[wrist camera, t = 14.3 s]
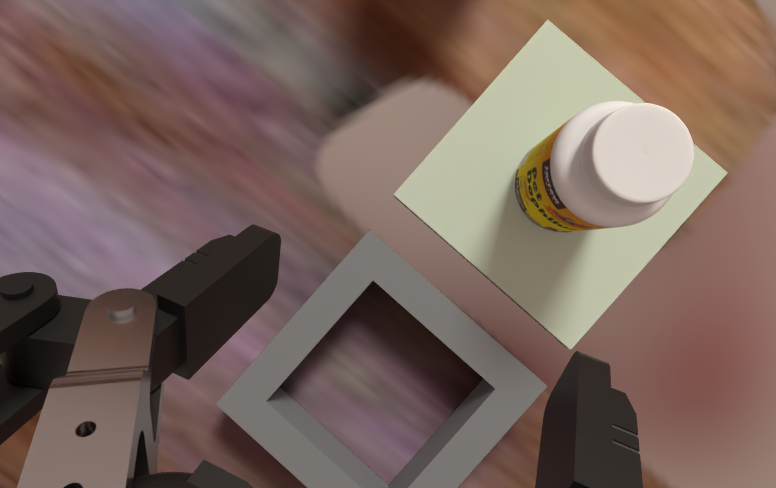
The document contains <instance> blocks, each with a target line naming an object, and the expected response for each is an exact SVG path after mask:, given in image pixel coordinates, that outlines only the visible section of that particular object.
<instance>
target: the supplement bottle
mask: <svg viewBox="0 0 776 488" xmlns="http://www.w3.org/2000/svg"><path fill="white" fill-rule="evenodd" d="M693 160H694V148H693V142H692V138H691V136H690V133H689V131H688V129H687V128H686V126H685V124H684V123H683V122H682V121H681V120H680V119H679V118H678V117H677V116H676V115H675V114H674V113H672V112H671V111H670V110H668V109H666V108H663V107H661V106H658V105H655V104H649V103H637V104H635V103H631V102H624V101H609V102H603V103H599V104H596V105H593V106H591V107H588V108H586V109H584V110H583V111H581V112H579V113H578V114H576V115H575V116H573V117H572V118H571V119H569V120H568V121H567V122H566V123H564V124H563V125H562V126H560V127H559V128H558V129H556V130H555V131H554V132H552V133H551V134H550V135H549V136H547V137H546V138H545V139H543V140H542V141H541V142H540V143H538V144H537V145H536V146H534V147H533V148H532V149H531V150H530V151H528V153H527V154H526V155H525V156H524V157H523V159H522V160H521V162H520V164H519V166H518V168H517V171H516V174H515V179H514V192H515V197H516V200H517V203H518V205H519V207H520V209H521V210H522V212H523V213H524V215H525V216H526V217H527V218H528V219H529V220H530V221H532V222H533V223H534V224H536V225H537V226H539V227H541V228H543V229H546V230H549V231H554V232H575V231H585V230H595V229H605V228H616V227H624V226H629V225H633V224H637V223H639V222H642V221H644V220H646V219H648V218H650V217H651V216H653V215H654V214H655V213H657V212H658V211H659V210H660V209H661V208H662V207H663V206H664V205H665V204H666V203H667V202H668V200H669V199H670V198H671V196H672V194H673V193H675V192H676V191H677V190H678V189H679V188H680V187H681V186H682V185H683V184H684V182H685V181H686V179H687V178H688V176H689V174H690V171H691V169H692V165H693Z"/></svg>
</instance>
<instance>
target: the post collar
mask: <svg viewBox="0 0 776 488" xmlns="http://www.w3.org/2000/svg"><path fill="white" fill-rule="evenodd" d="M372 281H374V282H375V283H377V284H378V285H379V286H380V287H381V288H382V289H383V290H384V291H386V292H387V293H388V294H389V295H390V296H391V297H392V298H393V299H395V300H396V301H397V302H398V303H399V304H400V305H401V306H402V307H404V308H405V309H406V310H407V311H408V312H409V313H410V314H412V315H413V316H414V317H415V318H416V319H417V320H418V321H419V322H421V323H422V324H423V325H424V326H425V327H426V328H427V329H428V330H430V331H431V332H432V333H433V334H434V335H435V336H436V337H437V338H439V339H440V340H441V341H442V342H443V343H444V344H445V345H446V346H448V347H449V348H450V349H451V350H452V351H453V352H454V353H455V354H457V355H458V356H459V357H460V358H461V359H462V360H463V361H465V362H466V363H467V364H468V365H469V366H470V367H471V368H472V369H474V370H475V371H476V372H477V373H478V374H479V375H480V376H481V377H483V379H482V380H481V381H480V383H479V384H478V385H477V386H476V387H475V388H474V389H473V390H472V392H471V393H470V394H469V395H468V396H467V397H466V398H465V400H464V401H463V402H462V403H461V404H460V405H459V406H458V407H457V409H456V410H455V411H454V412H453V413H452V414H451V415H450V416H449V418H448V419H447V420H446V421H445V422H444V423H443V424H442V425H441V427H440V428H439V429H438V430H437V431H436V432H435V433H434V435H433V436H432V437H431V438H430V439H429V440H428V441H427V442H426V444H425V445H424V446H423V447H422V448H421V449H420V450H419V451H418V453H417V454H416V455H415V456H414V457H413V458H412V459H411V460H410V462H409V463H408V464H407V465H406V466H405V467H404V468H403V470H402V471H401V472H400V473H399V474H398V475H397V476H396V477H395V479H394V480H393V481H392V482H391V483H390V484H389V485H388V484H387V483H386V482H384V481H383V480H382V479H381V478H380V477H379V476H378V475H377V474H376V473H374V472H373V471H372V470H371V469H370V468H369V467H368V466H367V465H366V464H365V463H363V462H362V461H361V460H360V459H359V458H358V457H357V456H356V455H355V454H353V453H352V452H351V451H350V450H349V449H348V448H347V447H346V446H345V445H344V444H342V443H341V442H340V441H339V440H338V439H337V438H336V437H335V436H334V435H332V434H331V433H330V432H329V431H328V430H327V429H326V428H325V427H324V426H322V425H321V424H320V423H319V422H318V421H317V420H316V419H315V418H314V417H313V416H311V415H310V414H309V413H308V412H307V411H306V410H305V409H304V408H303V407H301V406H300V405H299V404H298V403H297V402H296V401H295V400H294V399H293V398H292V397H290V396H289V395H288V394H287V393H286V392H285V391H284V390H283V389H282V388H280V385H281V384H282V383H283V382H284V381H285V380H286V379H287V378H288V376H289V375H290V374H291V373H292V372H293V371H294V370H295V368H296V367H297V366H298V365H299V364H300V363H301V362H302V361H303V359H304V358H305V357H306V356H307V355H308V354H309V353H310V351H311V350H312V349H313V348H314V347H315V346H316V345H317V344H318V342H319V341H320V340H321V339H322V338H323V337H324V336H325V334H326V333H327V332H328V331H329V330H330V329H331V328H332V327H333V325H334V324H335V323H336V322H337V321H338V320H339V319H340V317H341V316H342V315H343V314H344V313H345V312H346V311H347V310H348V308H349V307H350V306H351V305H352V304H353V303H354V302H355V301H356V299H357V298H358V297H359V296H360V295H361V294H362V293H363V291H364V290H365V289H366V288H367V287H368V286H369V285H370V284H371V282H372ZM546 387H547V385H545V384H544V383H543V382H542V381H541V380H540V379H539V378H538V377H537V376H536V375H535V374H533V373H532V372H531V371H530V370H529V369H528V368H527V367H526V366H524V365H523V364H522V363H521V362H520V361H519V360H518V359H516V358H515V357H514V356H513V355H512V354H511V353H510V352H509V351H507V350H506V349H505V348H504V347H503V346H502V345H501V344H500V343H498V342H497V341H496V340H495V339H494V338H493V337H492V336H490V335H489V334H488V333H487V332H486V331H485V330H484V329H483V328H481V327H480V326H479V325H478V324H477V323H476V322H475V321H473V320H472V319H471V318H470V317H469V316H468V315H467V314H466V313H464V312H463V311H462V310H461V309H460V308H459V307H458V306H456V305H455V304H454V303H453V302H452V301H451V300H450V299H449V298H447V297H446V296H445V295H444V294H443V293H442V292H441V291H439V290H438V289H437V288H436V287H435V286H434V285H433V284H432V283H430V282H429V281H428V280H427V279H426V278H425V277H424V276H422V275H421V274H420V273H419V272H418V271H417V270H416V269H415V268H413V267H412V266H411V265H410V264H409V263H408V262H407V261H405V260H404V259H403V258H402V257H401V256H400V255H399V254H398V253H396V252H395V251H394V250H393V249H392V248H391V247H390V246H388V245H387V244H386V243H385V242H384V241H383V240H382V239H381V238H379V237H378V236H377V235H376V234H375V233H374V232H373V231H371V230H369V231H368V232H367V233H366V234H365V236H364V237H363V238H362V239H361V240H360V241H359V242H358V243H357V245H356V246H355V247H354V248H353V249H352V250H351V251H350V253H349V254H348V255H347V256H346V257H345V258H344V259H343V260H342V262H341V263H340V264H339V265H338V266H337V267H336V268H335V270H334V271H333V272H332V273H331V274H330V275H329V276H328V278H327V279H326V280H325V281H324V282H323V283H322V284H321V285H320V287H319V288H318V289H317V290H316V291H315V292H314V293H313V295H312V296H311V297H310V298H309V299H308V300H307V301H306V302H305V304H304V305H303V306H302V307H301V308H300V309H299V310H298V312H297V313H296V314H295V315H294V316H293V317H292V318H291V319H290V321H289V322H288V323H287V324H286V325H285V326H284V327H283V329H282V330H281V331H280V332H279V333H278V334H277V335H276V336H275V338H274V339H273V340H272V341H271V342H270V343H269V344H268V346H267V347H266V348H265V349H264V350H263V351H262V352H261V353H260V355H259V356H258V357H257V358H256V359H255V360H254V361H253V363H252V364H251V365H250V366H249V367H248V368H247V369H246V370H245V372H244V373H243V374H242V375H241V376H240V377H239V378H238V380H237V381H236V382H235V383H234V384H233V385H232V386H231V387H230V389H229V390H228V391H227V392H226V393H225V394H224V395H223V397H222V398H221V399H220V400H219V401H218V402H217V403H216V405H217V406H218V407H219V408H220V409H222V410H223V411H224V412H225V413H226V414H227V415H228V416H229V417H230V418H231V419H232V420H234V421H235V422H236V423H237V424H238V425H239V426H240V427H241V428H242V429H243V430H245V431H246V432H247V433H248V434H249V435H250V436H251V437H252V438H253V439H254V440H256V441H257V442H258V443H259V444H260V445H261V446H262V447H263V448H264V449H265V450H267V451H268V452H269V453H270V454H271V455H272V456H273V457H274V458H275V459H276V460H278V461H279V462H280V463H281V464H282V465H283V466H284V467H285V468H286V469H287V470H288V471H290V472H291V473H292V474H293V475H294V476H295V477H296V478H297V479H298V480H299V481H301V482H302V483H303V484H304V485H305V486H306V487H307V488H457V487H458V486H459V485H460V484H461V483H462V482H463V481H464V480H465V478H466V477H467V476H468V475H469V474H470V473H471V472H472V471H473V469H474V468H475V467H476V466H477V465H478V464H479V463H480V462H481V460H482V459H483V458H484V457H485V456H486V455H487V454H488V453H489V451H490V450H491V449H492V448H493V447H494V446H495V445H496V443H497V442H498V441H499V440H500V439H501V438H502V437H503V436H504V434H505V433H506V432H507V431H508V430H509V429H510V428H511V427H512V425H513V424H514V423H515V422H516V421H517V420H518V419H519V418H520V416H521V415H522V414H523V413H524V412H525V411H526V410H527V409H528V407H529V406H530V405H531V404H532V403H533V402H534V401H535V399H536V398H537V397H538V396H539V395H540V394H541V393H542V392H543V390H544V389H545V388H546Z"/></svg>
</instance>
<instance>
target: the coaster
mask: <svg viewBox="0 0 776 488" xmlns="http://www.w3.org/2000/svg"><path fill="white" fill-rule="evenodd" d="M609 101H624V102H631V103H635V104H637V103H645V102H644V101H643V100H642V99H640V98H639V97H638V96H637V95H636V94H634V93H633V92H632V91H631V90H630V89H629V88H627V87H626V86H625V85H624V84H623V83H622V82H620V81H619V80H618V79H617V78H616V77H614V76H613V75H612V74H611V73H610V72H609V71H607V70H606V69H605V68H604V67H603V66H602V65H600V64H599V63H598V62H597V61H596V60H595V59H593V58H592V57H591V56H590V55H589V54H587V53H586V52H585V51H584V50H583V49H582V48H580V47H579V46H578V45H577V44H576V43H575V42H573V41H572V40H571V39H570V38H569V37H567V36H566V35H565V34H564V33H563V32H562V31H560V30H559V29H558V28H557V27H556V26H555V25H553V24H552V23H551V22H550V21H549V20H547V21H546V22H545V23H544V24H543V26H542V27H541V28H540V29H539V30H538V31H537V32H536V34H535V35H534V36H533V37H532V38H531V39H530V40H529V41H528V43H527V44H526V45H525V46H524V47H523V48H522V49H521V51H520V52H519V53H518V54H517V55H516V56H515V57H514V58H513V60H512V61H511V62H510V63H509V64H508V65H507V66H506V68H505V69H504V70H503V71H502V72H501V73H500V74H499V75H498V77H497V78H496V79H495V80H494V81H493V82H492V83H491V85H490V86H489V87H488V88H487V89H486V90H485V91H484V93H483V94H482V95H481V96H480V97H479V98H478V99H477V100H476V102H475V103H474V104H473V105H472V106H471V107H470V108H469V110H468V111H467V112H466V113H465V114H464V115H463V116H462V117H461V119H460V120H459V121H458V122H457V123H456V124H455V125H454V127H453V128H452V129H451V130H450V131H449V132H448V133H447V134H446V136H445V137H444V138H443V139H442V140H441V141H440V143H439V144H438V145H437V146H436V147H435V148H434V149H433V150H432V151H431V153H430V154H429V155H428V156H427V157H426V159H424V161H423V162H422V163H421V164H420V165H419V166H418V167H417V168H416V170H415V171H414V172H413V173H412V174H411V175H410V176H409V178H408V179H407V180H406V181H405V182H404V183H403V185H401V187H400V188H399V189H398V190H397V191H396V192H395V193H394V197H395V198H396V199H397V200H399V201H400V202H401V203H402V204H403V205H404V206H405V207H407V208H408V209H409V210H410V211H411V212H412V213H414V214H415V215H416V216H417V217H418V218H419V219H420V220H422V221H423V222H424V223H425V224H426V225H427V226H428V227H429V228H431V229H432V230H433V231H434V232H435V233H436V234H437V235H439V236H440V237H441V238H442V239H443V240H444V241H445V242H446V243H448V244H449V245H450V246H451V247H452V248H453V249H454V250H456V251H457V252H458V253H459V254H460V255H461V256H463V257H464V258H465V259H466V260H467V261H468V262H469V263H471V264H472V265H473V266H474V267H475V268H476V269H477V270H478V271H480V272H481V273H482V274H483V275H484V276H485V277H486V278H488V279H489V280H490V281H491V282H492V283H493V284H494V285H495V286H497V287H498V288H499V289H500V290H501V291H502V292H503V293H505V294H506V295H507V296H508V297H509V298H511V300H513V301H514V302H515V303H516V304H517V305H518V306H519V307H520V308H522V309H523V310H524V311H525V312H526V313H527V314H528V315H530V316H531V317H532V318H533V319H534V320H535V321H536V322H538V323H539V324H540V325H541V326H542V327H543V328H544V329H546V330H547V331H548V332H549V333H550V334H551V335H552V336H554V337H555V338H556V339H557V340H558V341H559V342H560V343H561V344H563V345H564V346H565V347H566V348H568V349H570V350H571V349H572V348H573V347H574V345H575V344H576V343H577V342H578V341H579V340H580V339H581V338H582V337H583V335H584V334H585V333H586V332H587V331H588V330H589V329H590V327H591V326H592V325H593V324H594V323H595V322H596V321H597V320H598V319H599V317H600V316H601V315H602V314H603V313H604V312H605V311H606V309H607V308H608V307H609V306H610V305H611V304H612V303H613V302H614V300H615V299H616V298H617V297H618V296H619V295H620V294H621V292H622V291H623V290H624V289H625V288H626V287H627V286H628V285H629V283H630V282H631V281H632V280H633V279H634V278H635V277H636V276H637V274H638V273H639V272H640V271H641V270H642V269H643V268H644V266H645V265H646V264H647V263H648V262H649V261H650V260H651V259H652V258H653V256H654V255H655V254H656V253H657V252H658V251H659V250H660V249H661V247H662V246H663V245H664V244H665V243H666V242H667V241H668V240H669V238H670V237H671V236H672V235H673V234H674V233H675V232H676V231H677V229H678V228H679V227H680V226H681V225H682V224H683V223H684V221H685V220H686V219H687V218H688V217H689V216H690V215H691V214H692V212H693V211H694V210H695V209H696V208H697V207H698V206H699V205H700V203H701V202H702V201H703V200H704V199H705V198H706V197H707V196H708V194H709V193H710V192H711V191H712V190H713V189H714V188H715V186H716V185H717V184H718V183H719V182H720V181H721V180H722V179H723V177H724V176H725V175H726V174H727V172H726V171H725V170H724V169H723V168H721V167H720V166H719V165H718V164H717V163H716V162H714V161H713V160H712V159H711V158H710V157H709V156H707V155H706V154H705V153H704V152H703V151H701V150H700V149H699V148H698V147H697V146H696V145H694V144H693V148H694V160H693V165H692V169H691V171H690V174H689V176H688V178H687V179H686V181H685V182H684V184H683V185H682V186H681V187H680V188H679V189H678V190H677V191H676V192H675V193H673V194H672V196H671V198H670V199H669V200H668V202H667V203H666V204H665V205H664V206H663V207H662V208H661V209H660V210H659V211H658V212H657V213H655V214H654V215H653V216H651V217H650V218H648V219H646V220H644V221H642V222H639V223H637V224H633V225H629V226H624V227H616V228H605V229H595V230H585V231H575V232H554V231H549V230H546V229H543V228H541V227H539V226H537V225H536V224H534V223H533V222H532V221H530V220H529V219H528V218H527V217H526V216H525V215H524V213H523V212H522V210H521V209H520V207H519V205H518V203H517V200H516V197H515V192H514V179H515V174H516V171H517V168H518V166H519V164H520V162H521V160H522V159H523V157H524V156H525V155H526V154H527V153H528V151H530V150H531V149H532V148H533V147H534V146H536V145H537V144H538V143H540V142H541V141H542V140H543V139H545V138H546V137H547V136H549V135H550V134H551V133H552V132H554V131H555V130H556V129H558V128H559V127H560V126H562V125H563V124H564V123H566V122H567V121H568V120H569V119H571V118H572V117H573V116H575V115H576V114H578V113H579V112H581V111H583V110H584V109H586V108H588V107H591V106H593V105H596V104H599V103H603V102H609Z"/></svg>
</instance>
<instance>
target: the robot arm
mask: <svg viewBox="0 0 776 488" xmlns="http://www.w3.org/2000/svg"><path fill="white" fill-rule="evenodd" d="M280 246H281V238H280V235H279V234H277V233H275V232H272V231H270V230H267V229H264V228H262V227H259V226H257V225H251V226H249V227H248V228H246V229H245V230H243V231H242V232H241V233H239V234H238V235H237V236H235V237H234V236H232V235H227V236H224V237H221V238H218V239H215V240H211V241H210V242H208V243H207V244H205V245H204V246H203V247H201V248H200V249H198V250H197V252H196V253H193V254H191V255H190V256H188V257H187V258H185V261H181V262H180V263H178V264H177V265H175V266H174V267H173V268H171V269H170V270H168V271H167V272H165V273H164V274H163V275H161V276H160V277H158V278H157V279H155V280H154V281H153V282H151V283H150V284H148V285H147V286H145V287H144V288H143V289H141V290H139V289H133V288H123V289H116V290H112V291H108V292H105V293H103V294H101V295H99V296H97V297H96V298H94V299H93V300H89V299H82V298H75V297H69V296H62V295H58V291H57V286H56V283H55V281H54V280H53V279H52V278H51V277H49V276H47V275H45V274H42V273H36V272H22V273H15V274H10V275H6V276H3V277H1V278H0V362H1V364H0V445H1V444H2V443H3V442H4V441H5V440H7V439H8V438H9V437H10V436H11V435H12V434H14V433H15V432H16V431H17V430H18V429H19V428H21V427H22V426H23V425H24V424H25V423H26V422H27V421H29V420H30V419H31V418H32V417H33V416H34V415H36V414H37V413H38V412H39V411H40V410H41V409H42V412H41V415H40V418H39V421H38V424H37V427H36V430H35V433H34V437H33V440H32V443H31V446H30V449H29V452H28V455H27V458H26V461H25V464H24V467H23V470H22V474H21V477H20V480H19V483H18V486H17V488H253V487H252V486H251V485H250V484H249V483H248V482H246V481H244V480H243V479H241V478H239V477H237V476H235V475H233V474H231V473H229V472H227V471H225V470H223V469H221V468H219V467H217V466H215V465H213V464H211V463H209V462H207V461H205V460H203V461H202V463H201V464H200V465H199V466H198V468H197V469H196V470H195V471H194V473H185V472H162V473H157V456H158V443H159V433H160V423H161V413H162V402H163V392H164V380H165V379H166V378H168V377H169V376H170V375H171V374H172V373H175V374H177V375H179V376H181V377H183V378H185V379H188V380H189V379H190V378H191V377H192V376H193V375H194V374H195V373H196V372H197V371H198V370H199V369H200V368H201V367H202V366H203V365H204V364H205V363H206V362H207V361H208V360H209V359H210V358H211V357H212V356H213V355H214V354H215V353H216V352H217V351H218V350H219V349H220V348H221V347H222V346H223V345H224V344H225V343H226V342H227V341H228V340H229V339H230V338H231V337H232V336H233V335H234V334H235V333H236V332H237V331H238V330H239V329H240V328H241V327H242V326H243V325H244V324H245V323H246V322H247V321H248V320H249V319H250V318H251V317H252V316H253V315H254V314H255V313H256V312H257V311H258V310H259V309H260V308H261V307H262V306H263V305H264V304H265V303H266V302H267V301H268V299H269V298H270V297H271V295H272V294H273V292H274V290H275V287H276V284H277V280H278V270H279V258H280ZM637 435H638V428H637V417H636V413H635V411H634V409H633V407H632V405H631V403H630V401H629V399H628V397H627V396H626V394H625V393H623V392H621V391H618V390H616V389H613V388H611V377H610V365H609V363H607V362H604V361H601V360H599V359H596V358H594V357H591V356H589V355H586V354H583V353H581V352H578V351H576V352H575V353H574V354H573V356H572V357H571V359H570V361H569V363H568V364H567V366H566V368H565V370H564V372H563V373H562V375H561V377H560V378H559V380H558V382H557V384H556V385H555V387H554V389H553V391H552V393H551V395H550V397H549V399H548V402H547V405H546V408H545V412H544V417H543V425H542V434H541V443H540V451H539V460H538V468H537V477H536V485H535V488H643V483H642V472H641V461H640V454H638V453H639V439H638V437H637Z"/></svg>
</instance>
